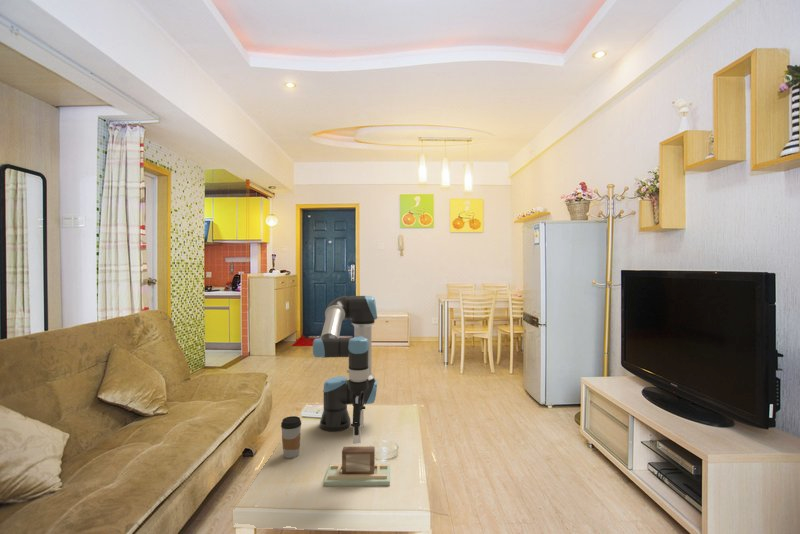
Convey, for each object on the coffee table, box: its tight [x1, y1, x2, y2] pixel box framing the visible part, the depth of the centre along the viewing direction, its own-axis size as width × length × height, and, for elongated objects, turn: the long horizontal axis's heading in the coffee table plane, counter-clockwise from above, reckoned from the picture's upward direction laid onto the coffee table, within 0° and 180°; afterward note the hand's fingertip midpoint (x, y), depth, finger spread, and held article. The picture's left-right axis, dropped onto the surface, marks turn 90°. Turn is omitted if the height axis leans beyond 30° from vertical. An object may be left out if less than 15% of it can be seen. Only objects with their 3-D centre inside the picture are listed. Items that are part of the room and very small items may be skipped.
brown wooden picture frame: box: [341, 445, 376, 474], centre depth 148 cm, size 4×12×9 cm, turn 91°
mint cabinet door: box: [323, 463, 391, 487], centre depth 148 cm, size 12×24×3 cm, turn 91°
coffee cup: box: [280, 415, 302, 459], centre depth 164 cm, size 8×8×15 cm
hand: (358, 434), depth 148 cm, fingers open, 13 cm apart
